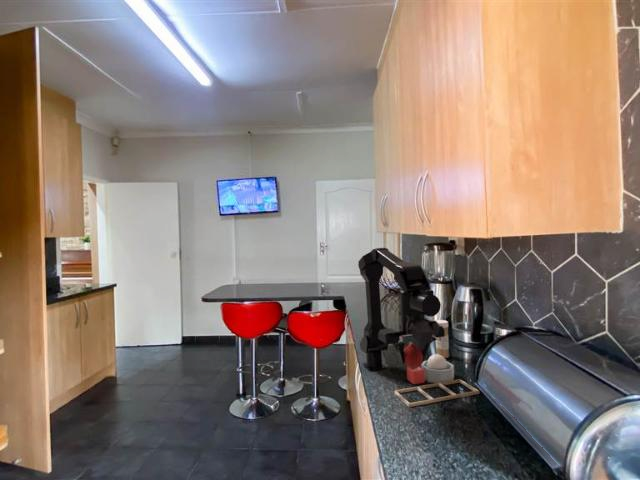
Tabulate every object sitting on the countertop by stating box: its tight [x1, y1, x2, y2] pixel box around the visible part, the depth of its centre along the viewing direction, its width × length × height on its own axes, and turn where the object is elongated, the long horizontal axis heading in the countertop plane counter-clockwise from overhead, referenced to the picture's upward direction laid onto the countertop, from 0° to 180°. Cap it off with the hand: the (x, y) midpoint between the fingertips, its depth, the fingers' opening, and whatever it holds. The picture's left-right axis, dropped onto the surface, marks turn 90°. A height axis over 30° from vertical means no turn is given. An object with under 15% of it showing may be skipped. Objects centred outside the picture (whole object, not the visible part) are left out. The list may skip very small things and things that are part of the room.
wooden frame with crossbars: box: [393, 378, 480, 408], centre depth 108 cm, size 9×23×1 cm, turn 105°
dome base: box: [406, 359, 455, 385], centre depth 119 cm, size 10×15×4 cm, turn 105°
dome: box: [426, 353, 449, 370], centre depth 119 cm, size 7×7×6 cm
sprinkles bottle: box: [435, 319, 450, 359], centre depth 138 cm, size 5×5×13 cm
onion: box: [404, 341, 424, 370], centre depth 106 cm, size 6×6×8 cm
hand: (412, 362), depth 106 cm, fingers closed on onion, 6 cm apart
